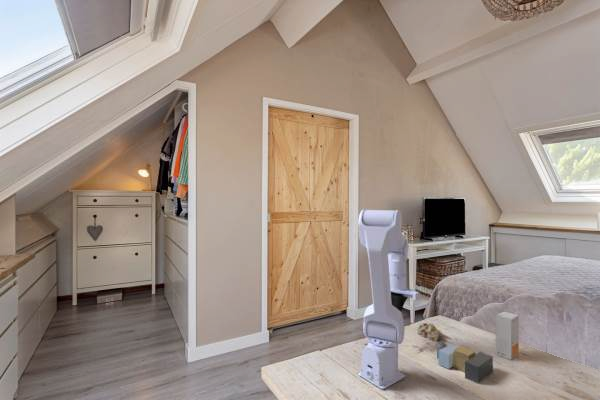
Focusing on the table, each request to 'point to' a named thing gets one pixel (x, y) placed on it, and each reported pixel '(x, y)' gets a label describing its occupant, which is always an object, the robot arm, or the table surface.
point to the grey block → (478, 367)
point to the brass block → (461, 357)
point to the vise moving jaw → (445, 354)
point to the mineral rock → (430, 332)
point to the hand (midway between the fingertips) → (396, 316)
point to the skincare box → (507, 335)
